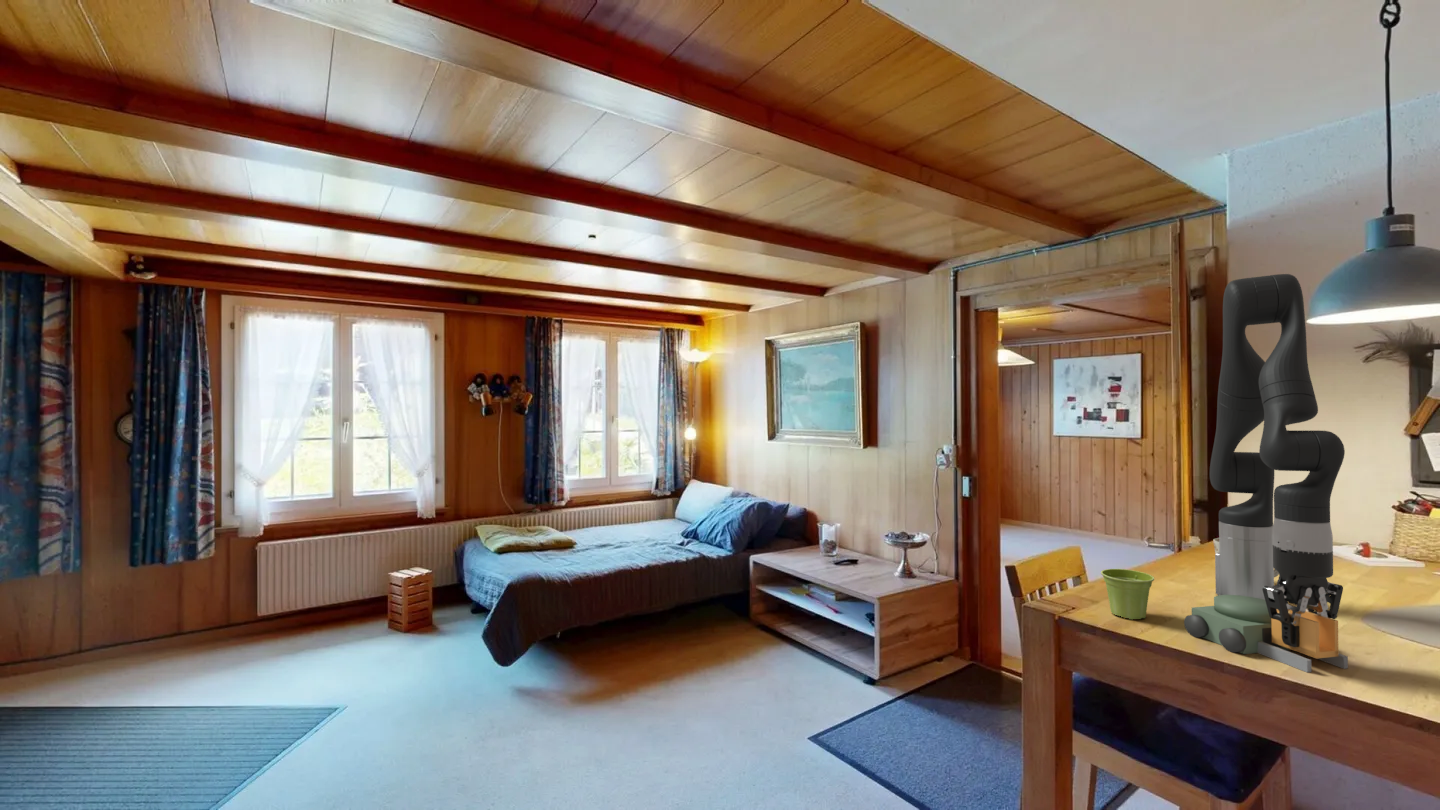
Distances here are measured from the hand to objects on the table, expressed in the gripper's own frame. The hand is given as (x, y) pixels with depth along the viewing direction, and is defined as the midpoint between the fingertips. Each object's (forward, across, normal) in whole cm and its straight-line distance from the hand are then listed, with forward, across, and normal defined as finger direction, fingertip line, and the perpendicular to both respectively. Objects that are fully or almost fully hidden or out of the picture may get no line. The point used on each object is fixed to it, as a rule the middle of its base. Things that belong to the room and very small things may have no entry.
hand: (1303, 643), depth 104 cm
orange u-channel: (+1, 0, 0) cm, 1 cm away
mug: (+3, -34, -38) cm, 52 cm away
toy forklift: (+3, 0, -6) cm, 6 cm away
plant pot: (+3, +11, -25) cm, 28 cm away
